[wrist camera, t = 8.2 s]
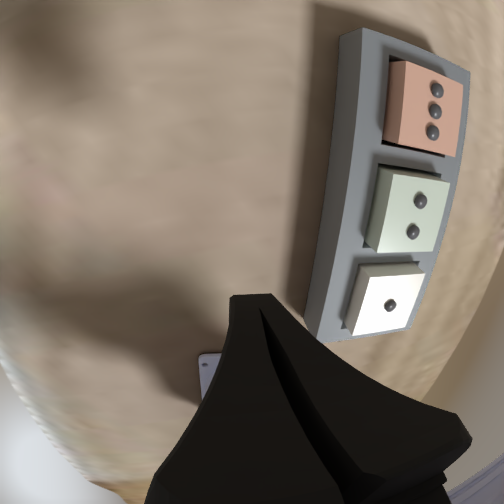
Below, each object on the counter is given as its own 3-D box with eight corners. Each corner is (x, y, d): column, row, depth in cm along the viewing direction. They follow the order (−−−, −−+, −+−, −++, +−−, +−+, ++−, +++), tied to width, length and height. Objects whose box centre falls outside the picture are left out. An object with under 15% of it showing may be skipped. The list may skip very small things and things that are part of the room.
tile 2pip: (401, 227, 21) (434, 252, 18) (348, 226, 21) (378, 254, 17) (414, 167, 19) (452, 183, 16) (359, 159, 18) (395, 174, 15)
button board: (393, 308, 26) (409, 329, 23) (303, 318, 24) (314, 343, 21) (442, 71, 16) (470, 72, 14) (339, 36, 15) (362, 27, 12)
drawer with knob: (381, 298, 24) (406, 328, 21) (332, 303, 24) (353, 337, 20) (396, 247, 22) (426, 274, 18) (344, 248, 21) (371, 279, 18)
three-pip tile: (417, 145, 18) (457, 158, 15) (363, 134, 18) (400, 144, 14) (424, 82, 16) (465, 85, 13) (369, 64, 16) (408, 60, 12)
